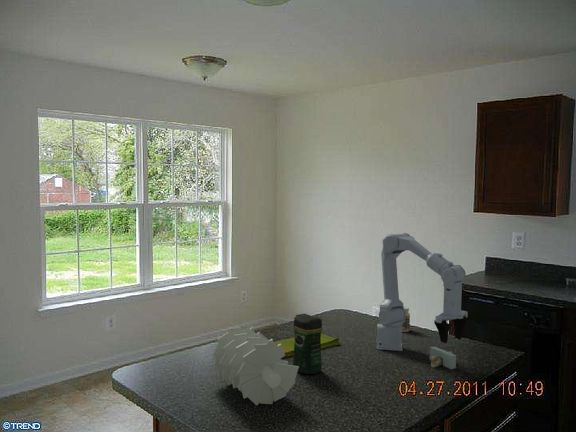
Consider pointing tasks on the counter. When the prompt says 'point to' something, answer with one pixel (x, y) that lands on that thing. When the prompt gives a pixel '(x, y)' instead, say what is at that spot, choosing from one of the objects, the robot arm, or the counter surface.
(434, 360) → the birch board
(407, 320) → the pill bottle
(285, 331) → the counter surface
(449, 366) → the notched plate
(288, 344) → the dish towel
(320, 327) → the coffee jar
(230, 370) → the spiral staircase
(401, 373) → the counter surface
